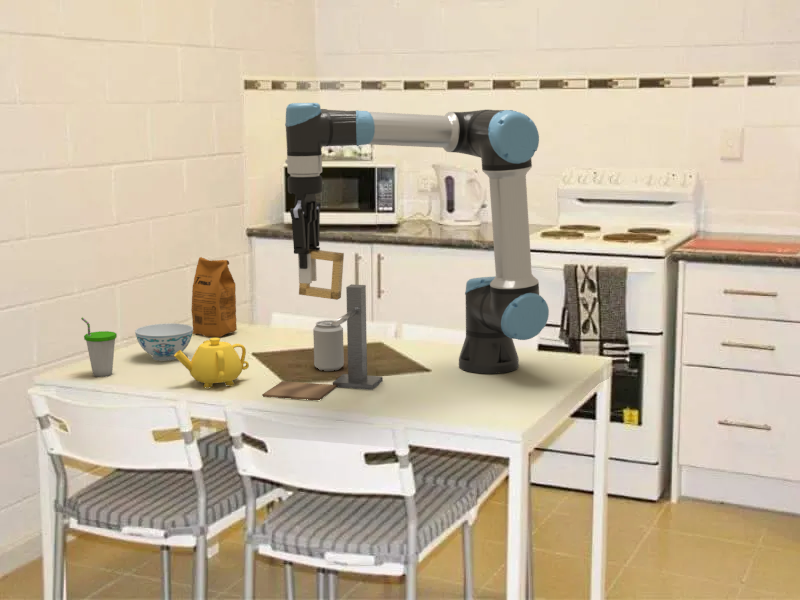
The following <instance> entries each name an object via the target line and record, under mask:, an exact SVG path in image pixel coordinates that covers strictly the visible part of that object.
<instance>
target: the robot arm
mask: <svg viewBox="0 0 800 600" xmlns="http://www.w3.org/2000/svg"><path fill="white" fill-rule="evenodd" d="M284 125H285V137H286V159H285V161H284V163H285V164H286V165H287V166H286V167H287V174H289V176H288V177H287V192H288V193H289V194H291V195H294V196H295V199H294V204H293V206H294V208H291V207H290V210H289V212H290V213H289V214H290V218H291V226H292V227H291V228H292V230H291V231H292V242H293V244H292V245H293V254H294V255H298V256H297V258H298V259H297V260H298V263H297V264H298V284H299V283H310V284H312V283H313V282H317V278H318V277H317V259H312V258H311V254H309V249H314V250H321V247H320V226H321V225H320V224H321V223H320V222H321V220H320V219H321V217H320V216H321V207H322V204H321V202H317V197H316V194H321V193H322V192H323V189H324V188H323V176H322V175H320V174H321V173H323V155H322V147H324V148H325V147H344V146H345V147H349V146H356V147H359V146H365V145H371V146H372V145H374V146H392V147H393V146H397V147H420V148H422V147H423V148H440V149H441V148H442V149H443V150H444V151H445V152H447V153H459V154H463V155H468V156H473V157H477V158H479V159H480V158H481V159H480V160H481V170H482V172H483V173H484V174H485V175H486V176H487V177H488V181H489V192H490V193H489V194H490V207H491V208H490V209H491V224H492V225H491V226H492V241H493V255H494V269H495V276H483V277H473V278H470V279H469V280H467V281H466V284H465V292H464V295H465V338H464V341H463V344H462V347H461V350H460V353H459V357H458V367H459V368H460V369H461V370H463V371H465V372H470V373H476V374H489V375H490V374H504V373H509V372H514V371H516V370H518V368H519V367H520V366H519V361H520V359H519V355H518V351H517V349H516V346H515V343H514V340H518V341H519V340H520V341H527V340H530V339H531V340H532V339H533V338H535V337H536V336H538V335H540V334H541V331H543V329H545V327H546V325H547V323H548V320H549V315H550V310H549V309H550V308H549V305H548V303H547V301H546V300H545V299H544V297H543V296H542V295H540V284H539V283H540V282H539V279H538V278H537V277H536V276H534V275H533V273H532V258H531V241H530V240H531V239H530V223H529V209H528V207H529V206H528V205H529V204H528V192H527V191H528V190H527V189H528V188H527V174H528V172H529V171H531V169H532V167H533V164H532V158H533V157H534V155H535V153H536V151H537V150H538V148H539V143H540V136H539V135H540V133H539V131H538V130H539V129H538V128H537V125H536V123H535V122H534V121H533V119H531V118H530V117H529V115H527V114H525V113H524V112H523V113H522V112H520V111H517V110H513V109H480V110H472V111H460V112H459V111H448V112H447V113H446V114H445V115H441V114H440V115H439V114H438V115H437V114H436V115H435V114H417V113H416V114H415V113H396V112H393V113H392V112H379V111H368V110H359V109H358V110H357V109H356V110H341V109H339V110H337V109H327V108H321V104H320V103H318V102H292V103H291V102H290V103H289V104H287V106H286V108H285V124H284Z"/></svg>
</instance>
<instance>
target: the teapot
mask: <svg viewBox="0 0 800 600" xmlns="http://www.w3.org/2000/svg"><path fill="white" fill-rule="evenodd" d="M236 348H241V358H240V356H239V354H238V352H237V351H236ZM246 354H247V349H246V347H245V346H244V345H243V344H241V343H234V344H231V343H229V342H226V341H221V337H211V338H209V340H204V341H203V342H202V343H201V344H200V345H198V346H197V348H196V350H195V352H194V354H193V356H192V358H191V359H189V358H188V356H186V355H185V353H184V352H183V351H181V350H179V351H178V352H177V353H176V354H175V355H174V356H175V357H176V358H177V359H176V360H178V362H179V363H181V364H182V366H183V367H185V368H186V369H187V370H188V372H189V374H190V376H191V377H192V378H193V379H194V380H195V381H196V382H198V383H200V382H201V384H203V383H204V384H203V387H204V388H203V389H210V388H209V387H211V388H213V384H218V383H219V384H220V383H224V384H225V386H226V385H229V386H228V387H232V386H231V385H233V386H235V385H234V384H235V382H234V381H235V380H237V379H238V378H239V376H240V375H241V374H242V371H243V370H244V371H245V370H247V369H248V368H249V366H250V365H249V362H248V360H245V358H246V356H247V355H246ZM244 364H245V365H244ZM205 387H206V388H205Z"/></svg>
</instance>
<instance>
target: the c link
mask: <svg viewBox="0 0 800 600" xmlns="http://www.w3.org/2000/svg"><path fill="white" fill-rule="evenodd" d="M309 254H311V258H312V259H316V260H319V261H320V260H322V261H326V262H327V261H330V262H332V268H331V269H332V271H331V283H330V284H331V286H330V288H325V287H316V286H311V283H299V282H298V284H299V285H298V295H299V296H300V295H301V296H307V297H314V298H322V299H327V300H328V299H329V300H335V301H337V300H340V299H341V298H342V287H343V273H344V256H345V253H344V252H337V251H330V250H329V251H328V250H322V249H320V250H314V249H309Z"/></svg>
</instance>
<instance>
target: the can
mask: <svg viewBox="0 0 800 600" xmlns="http://www.w3.org/2000/svg"><path fill="white" fill-rule="evenodd" d="M335 320H336V319H335ZM335 320H334V319H329V320H328V319H327V320H325V319H324V320H319V321H316V322H315V326H314V327H313V329H312V331H313V361H314V362H313V365H314V367H315V368H316V369H317V368H318V369H319V370H318V369H317V370H318V371H322V370H324V371H323V372H332V371H334V370H335V371H338V370H341V368H342V367H344V364H345V363H344V362H345V358H344V357H345V356H344V355H345V354H344V327H343V326H342V324H340V325H339V326H337V327H336V328H333V327H332V325H331V324H332V322H334V321H335Z"/></svg>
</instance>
